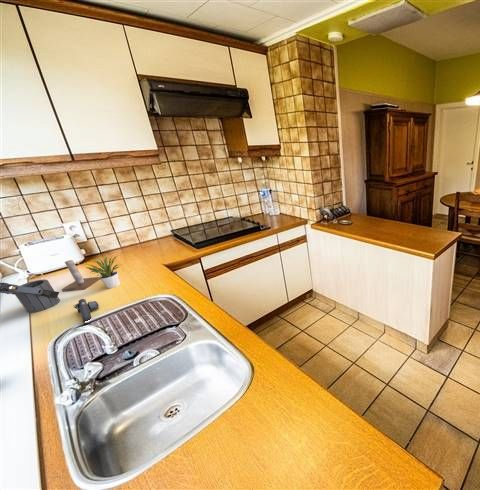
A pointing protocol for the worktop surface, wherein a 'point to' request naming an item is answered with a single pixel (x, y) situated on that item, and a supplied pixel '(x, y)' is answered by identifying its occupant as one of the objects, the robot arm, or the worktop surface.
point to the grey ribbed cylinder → (34, 302)
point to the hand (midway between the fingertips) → (47, 294)
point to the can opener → (86, 308)
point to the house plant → (106, 272)
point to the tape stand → (78, 279)
